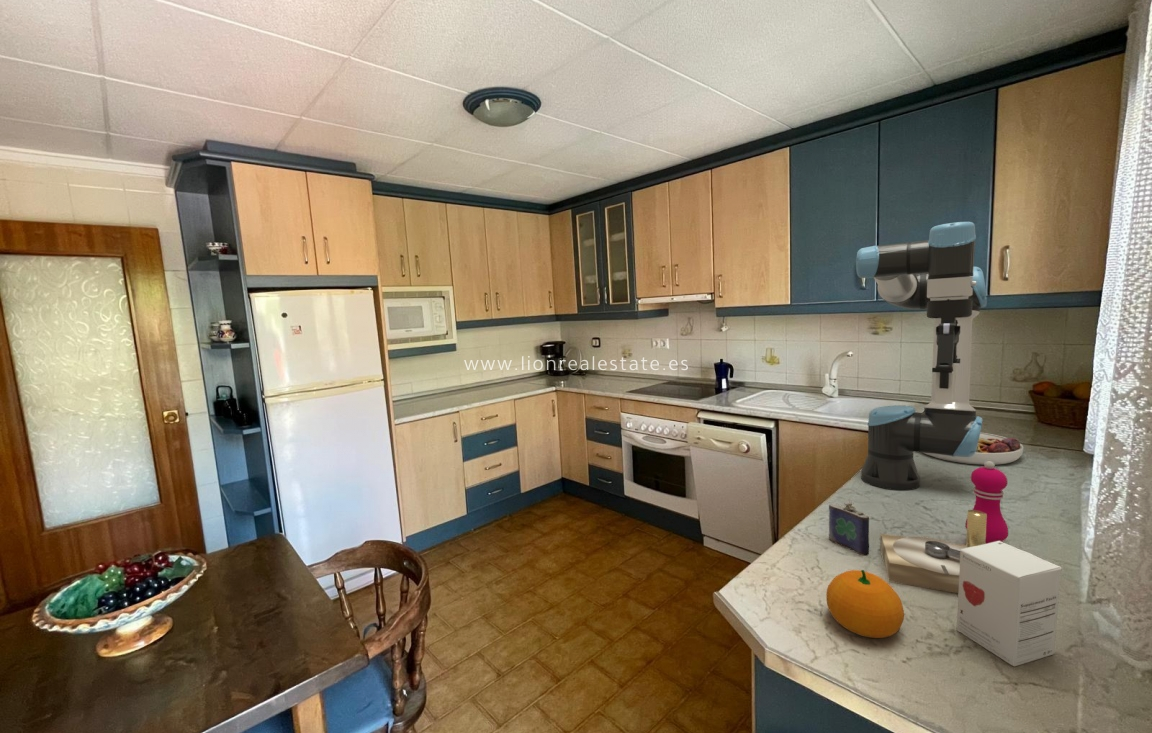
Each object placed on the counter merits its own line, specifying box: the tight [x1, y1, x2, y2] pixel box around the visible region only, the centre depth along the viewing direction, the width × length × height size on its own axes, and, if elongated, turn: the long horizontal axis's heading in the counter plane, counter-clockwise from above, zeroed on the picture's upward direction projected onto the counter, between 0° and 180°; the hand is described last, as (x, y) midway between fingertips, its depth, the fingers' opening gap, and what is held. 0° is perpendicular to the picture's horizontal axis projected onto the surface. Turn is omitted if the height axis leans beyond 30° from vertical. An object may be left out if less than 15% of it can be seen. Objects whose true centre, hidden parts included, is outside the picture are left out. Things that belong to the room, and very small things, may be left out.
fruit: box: [826, 569, 905, 639], centre depth 82 cm, size 12×12×10 cm
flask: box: [828, 501, 870, 556], centre depth 108 cm, size 9×3×11 cm, turn 26°
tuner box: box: [879, 533, 966, 594], centre depth 96 cm, size 15×18×4 cm
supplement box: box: [956, 541, 1063, 667], centre depth 76 cm, size 9×9×15 cm
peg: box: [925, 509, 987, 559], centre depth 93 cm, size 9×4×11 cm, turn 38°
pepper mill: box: [964, 461, 1009, 544], centre depth 103 cm, size 7×7×20 cm
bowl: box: [922, 432, 1024, 466], centre depth 164 cm, size 30×30×8 cm
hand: (945, 397), depth 101 cm, fingers open, 13 cm apart
